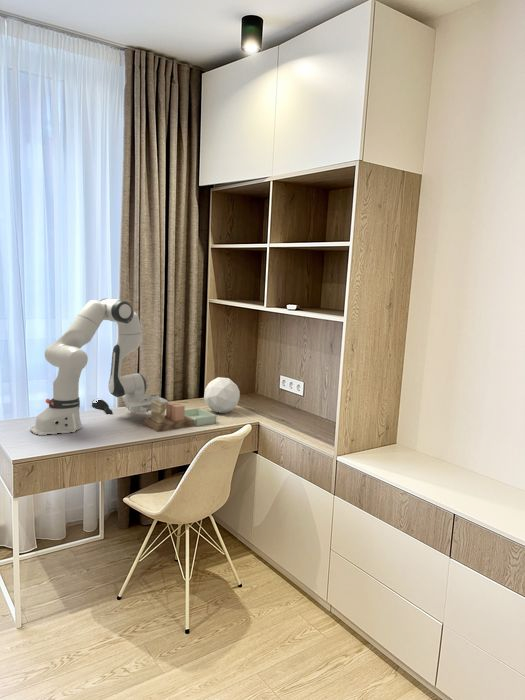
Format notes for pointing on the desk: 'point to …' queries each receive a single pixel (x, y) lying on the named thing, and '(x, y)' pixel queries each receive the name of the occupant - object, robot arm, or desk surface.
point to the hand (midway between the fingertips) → (155, 409)
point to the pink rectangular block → (169, 408)
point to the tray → (200, 416)
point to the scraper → (157, 411)
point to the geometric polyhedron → (221, 395)
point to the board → (168, 424)
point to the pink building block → (177, 412)
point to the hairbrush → (102, 406)
